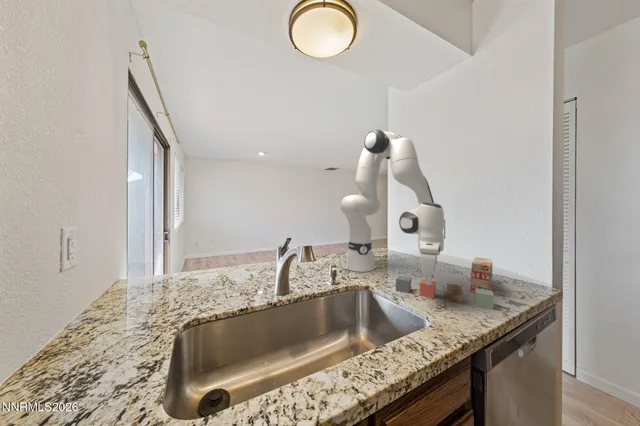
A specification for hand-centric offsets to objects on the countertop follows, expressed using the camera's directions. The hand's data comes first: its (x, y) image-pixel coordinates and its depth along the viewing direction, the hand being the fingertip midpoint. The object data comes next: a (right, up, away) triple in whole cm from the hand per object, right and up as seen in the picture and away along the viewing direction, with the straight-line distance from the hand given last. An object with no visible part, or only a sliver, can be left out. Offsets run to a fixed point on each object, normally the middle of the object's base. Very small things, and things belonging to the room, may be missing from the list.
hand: (430, 280), depth 92 cm
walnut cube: (+7, -6, -4) cm, 10 cm away
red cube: (-1, -6, +1) cm, 6 cm away
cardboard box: (+27, -6, +11) cm, 30 cm away
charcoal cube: (-8, -5, +5) cm, 11 cm away
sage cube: (+15, -6, -8) cm, 18 cm away
